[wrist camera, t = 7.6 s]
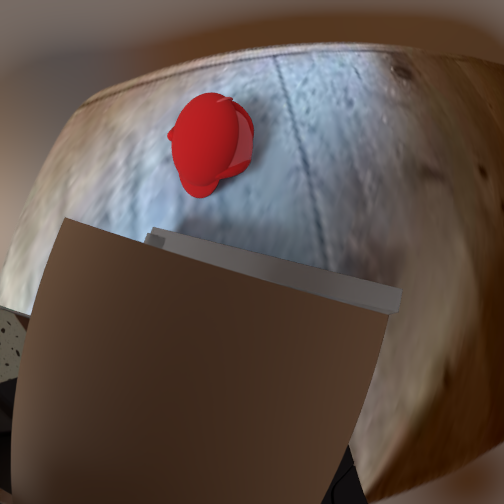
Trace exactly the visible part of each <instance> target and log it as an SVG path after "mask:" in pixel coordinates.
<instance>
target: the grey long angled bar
mask: <svg viewBox="0 0 504 504" xmlns="http://www.w3.org/2000/svg"><path fill="white" fill-rule="evenodd" d="M144 243H145V244H148V245H151V246H154V247H157V248H160V249H164V250H167V251H170V252H173V253H176V254H180V255H183V256H186V257H189V258H192V259H196V260H199V261H202V262H206V263H209V264H212V265H215V266H219V267H222V268H225V269H229V270H232V271H235V272H239V273H242V274H245V275H249V276H252V277H256V278H259V279H262V280H266V281H269V282H273V283H276V284H279V285H283V286H286V287H290V288H293V289H297V290H300V291H304V292H307V293H311V294H314V295H318V296H322V297H325V298H329V299H332V300H336V301H340V302H343V303H347V304H350V305H354V306H358V307H361V308H365V309H369V310H373V311H376V312H380V313H384V314H387V315H389V314H393V313H397V312H399V307H400V301H401V296H402V290H403V289H400V288H396V287H392V286H388V285H384V284H380V283H376V282H372V281H368V280H364V279H360V278H356V277H352V276H348V275H344V274H340V273H336V272H332V271H328V270H324V269H320V268H316V267H312V266H308V265H304V264H300V263H296V262H292V261H288V260H284V259H280V258H276V257H272V256H268V255H264V254H260V253H256V252H252V251H248V250H244V249H240V248H236V247H232V246H228V245H224V244H220V243H216V242H212V241H208V240H204V239H200V238H196V237H192V236H188V235H184V234H180V233H176V232H172V231H168V230H164V229H160V228H156V227H153V228H152V231H151V234H150V233H147V236H146V238H145V241H144Z"/></svg>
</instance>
